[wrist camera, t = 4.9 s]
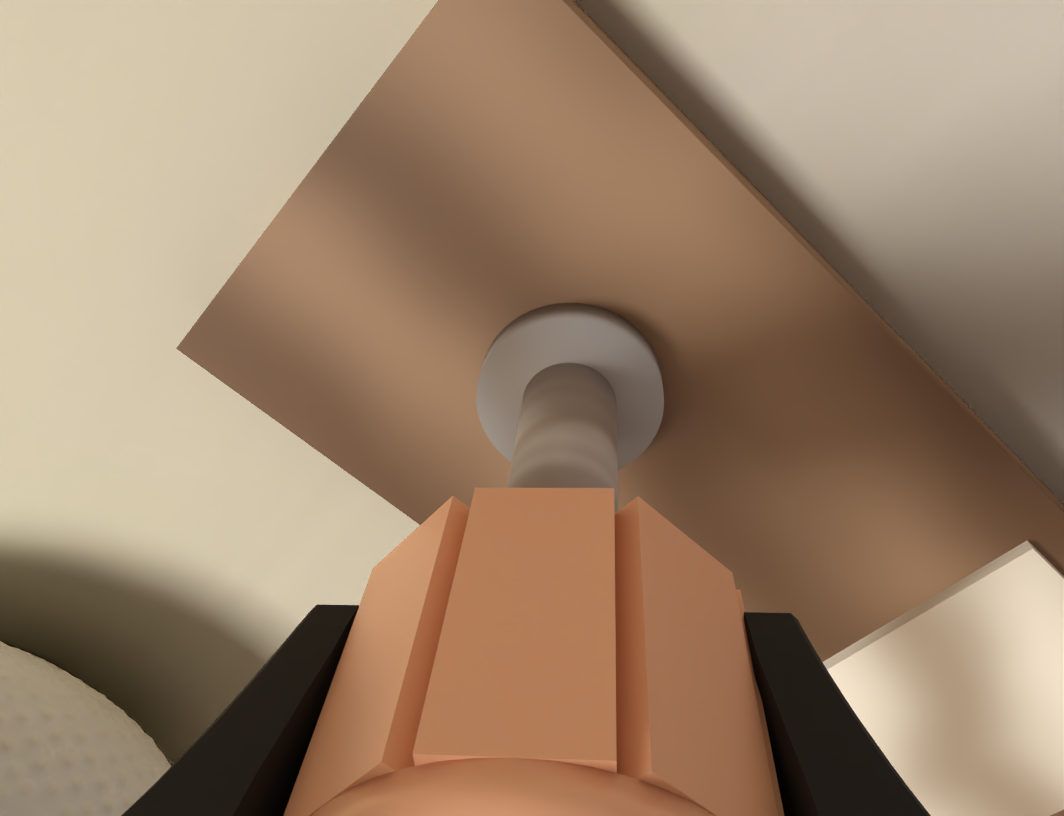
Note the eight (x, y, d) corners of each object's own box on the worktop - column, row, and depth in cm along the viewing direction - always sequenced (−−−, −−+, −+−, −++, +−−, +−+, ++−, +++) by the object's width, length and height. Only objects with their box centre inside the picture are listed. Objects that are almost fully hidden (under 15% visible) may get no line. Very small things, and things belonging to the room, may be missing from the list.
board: (501, -72, 15) (425, -65, 9) (1248, 694, 23) (1491, 989, 17) (204, 320, 20) (12, 512, 14) (912, 846, 28) (1003, 1123, 22)
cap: (749, 488, 10) (835, 835, 7) (724, 756, 13) (774, 1120, 9) (347, 487, 11) (200, 808, 7) (401, 745, 14) (315, 1085, 10)
